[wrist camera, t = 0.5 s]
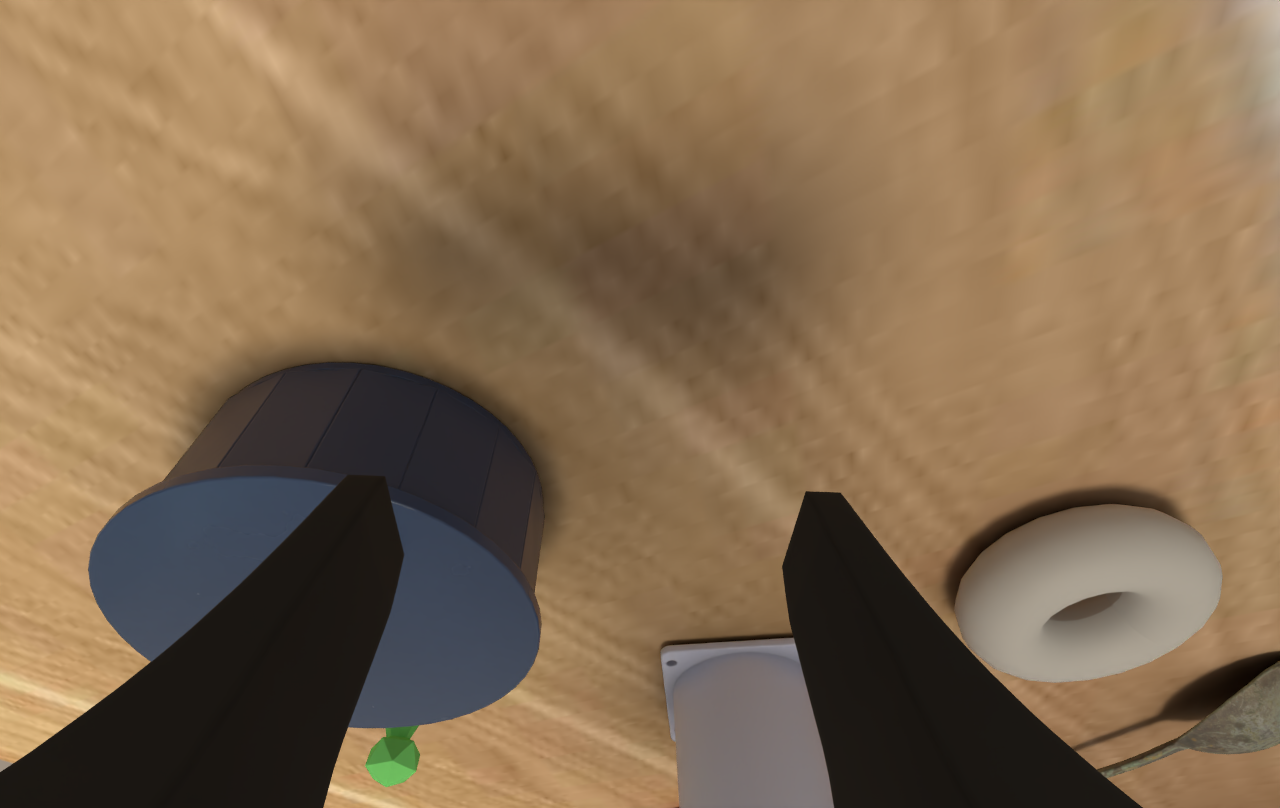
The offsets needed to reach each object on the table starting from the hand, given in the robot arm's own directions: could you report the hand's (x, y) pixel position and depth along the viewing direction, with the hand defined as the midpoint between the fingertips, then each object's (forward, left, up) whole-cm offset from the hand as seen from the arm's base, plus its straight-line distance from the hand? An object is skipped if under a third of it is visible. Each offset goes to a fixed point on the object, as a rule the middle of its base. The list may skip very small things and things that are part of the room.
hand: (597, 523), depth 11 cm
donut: (-16, -18, -10) cm, 26 cm away
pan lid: (-9, +10, -5) cm, 14 cm away
